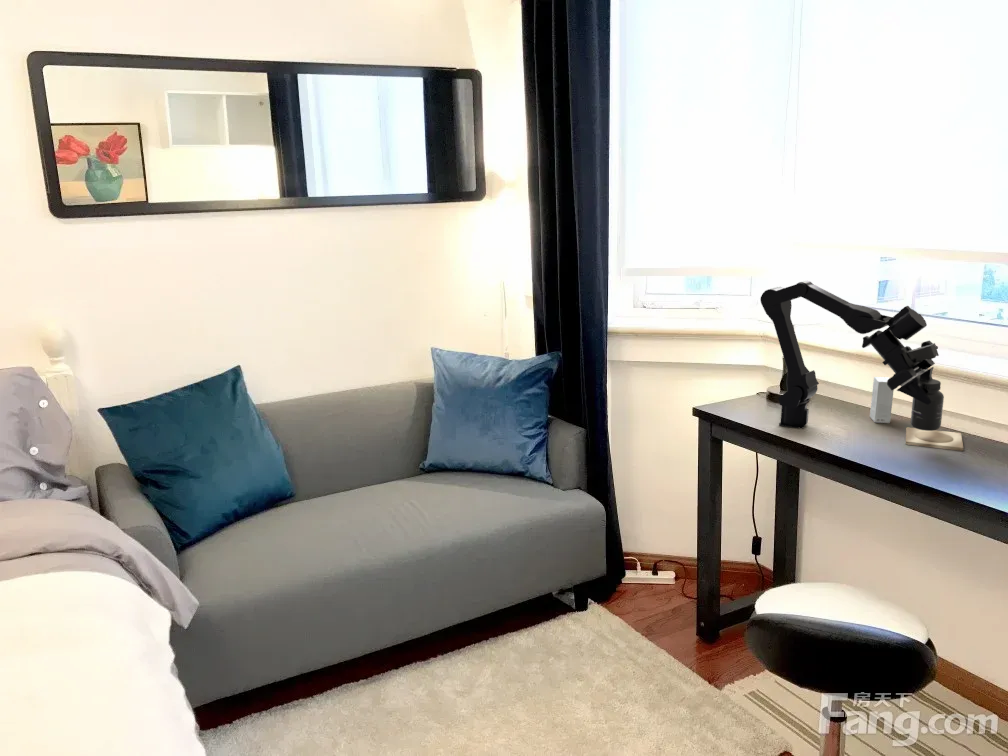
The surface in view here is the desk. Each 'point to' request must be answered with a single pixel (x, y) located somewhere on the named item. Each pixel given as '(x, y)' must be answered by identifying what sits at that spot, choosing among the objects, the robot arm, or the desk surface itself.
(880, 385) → the skincare box
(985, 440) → the desk surface
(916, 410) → the supplement bottle
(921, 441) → the birch coaster
